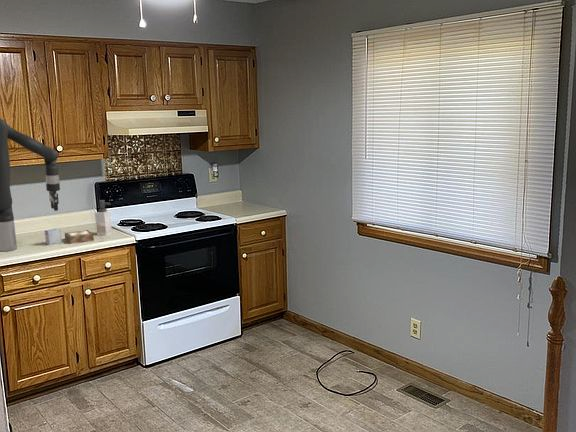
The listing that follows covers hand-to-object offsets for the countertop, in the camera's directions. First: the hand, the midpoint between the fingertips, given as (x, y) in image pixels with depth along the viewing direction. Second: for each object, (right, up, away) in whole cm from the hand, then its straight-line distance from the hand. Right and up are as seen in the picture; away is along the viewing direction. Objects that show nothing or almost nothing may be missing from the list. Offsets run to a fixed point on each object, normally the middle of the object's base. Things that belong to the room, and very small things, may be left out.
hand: (54, 209), depth 347 cm
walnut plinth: (+11, -19, +11) cm, 24 cm away
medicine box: (-2, -21, +3) cm, 21 cm away
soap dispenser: (+23, -16, +25) cm, 38 cm away
